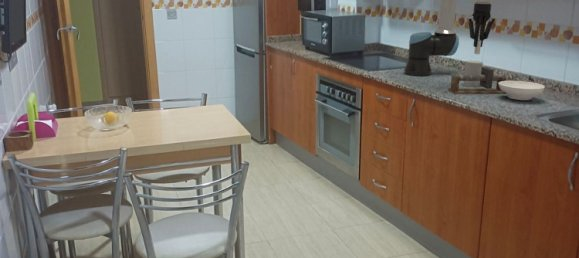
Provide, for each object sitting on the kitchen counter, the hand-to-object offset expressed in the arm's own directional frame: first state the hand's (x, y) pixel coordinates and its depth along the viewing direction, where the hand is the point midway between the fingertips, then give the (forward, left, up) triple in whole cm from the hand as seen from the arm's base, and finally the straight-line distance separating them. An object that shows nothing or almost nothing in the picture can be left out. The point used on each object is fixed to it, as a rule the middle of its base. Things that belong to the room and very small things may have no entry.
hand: (476, 53), depth 256 cm
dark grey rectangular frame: (+1, +6, -16) cm, 17 cm away
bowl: (+17, +15, -19) cm, 29 cm away
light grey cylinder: (-17, +7, -19) cm, 27 cm away
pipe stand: (+1, +2, -18) cm, 19 cm away
